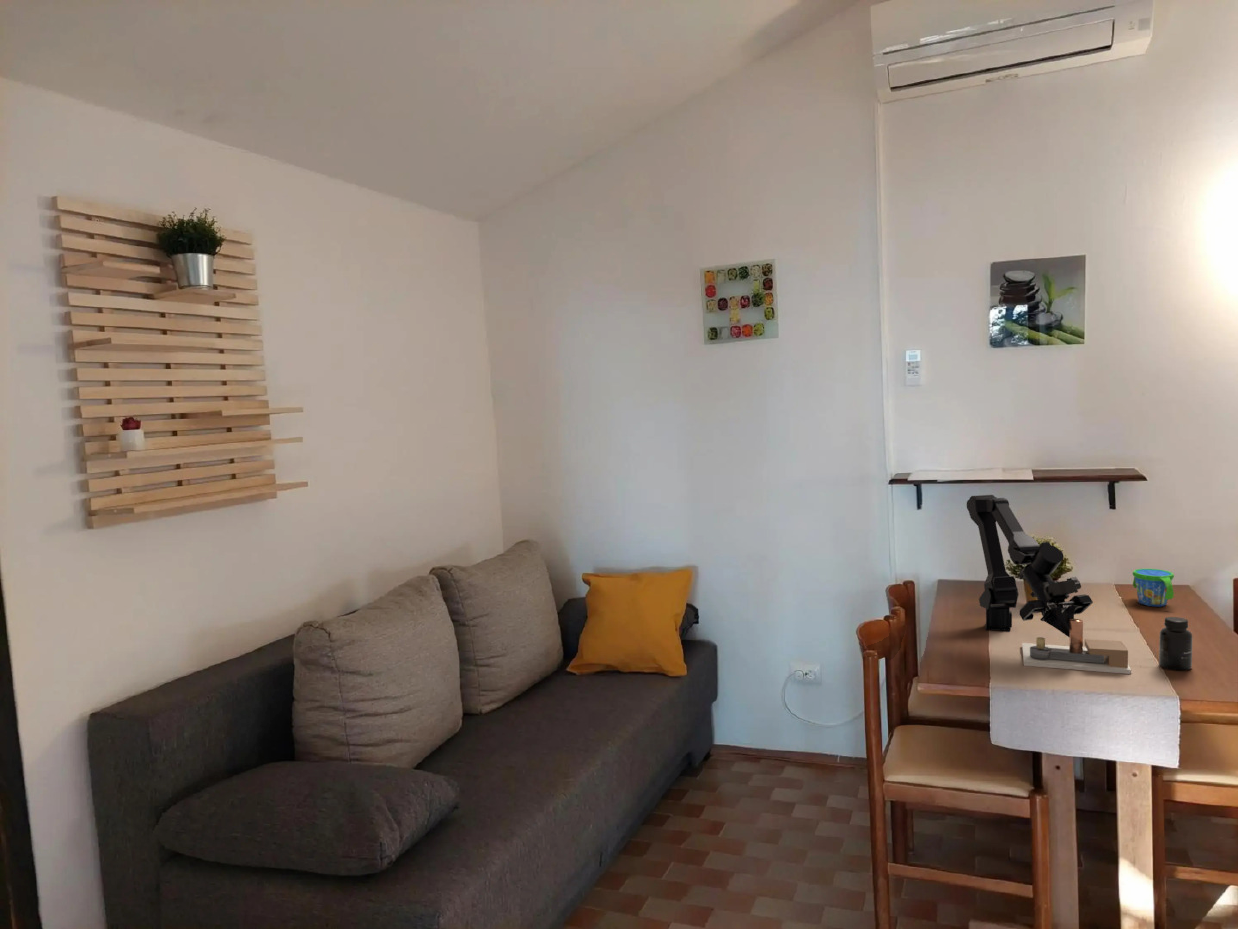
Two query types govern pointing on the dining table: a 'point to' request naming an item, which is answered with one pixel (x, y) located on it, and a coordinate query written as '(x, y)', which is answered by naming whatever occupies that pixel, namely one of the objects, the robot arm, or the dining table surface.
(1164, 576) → the snack cup
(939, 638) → the dining table surface
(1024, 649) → the base
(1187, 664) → the supplement bottle
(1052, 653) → the link
